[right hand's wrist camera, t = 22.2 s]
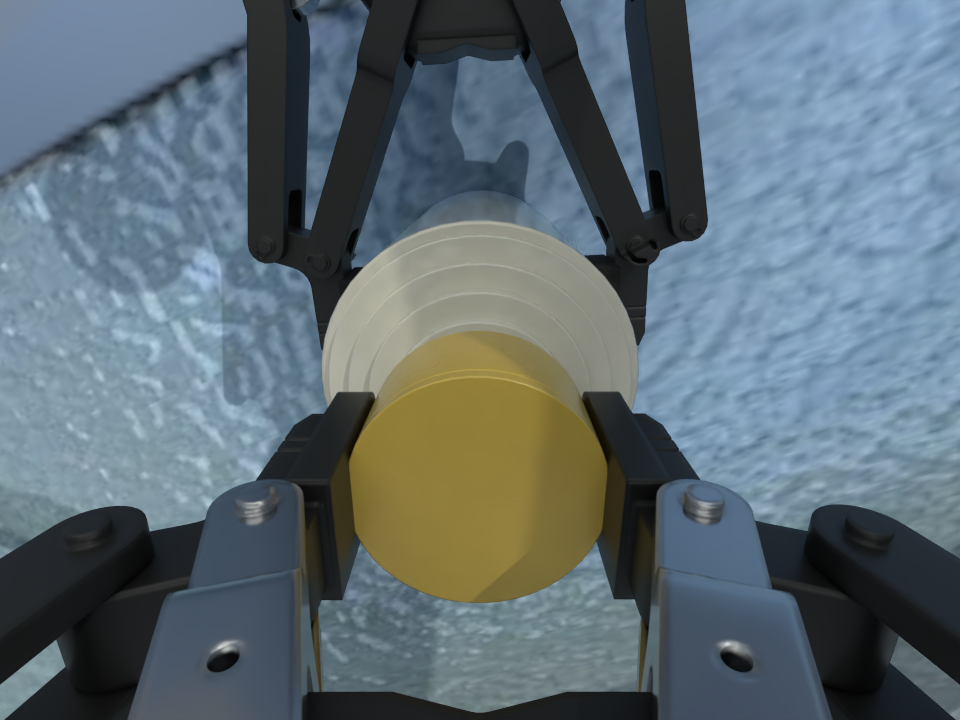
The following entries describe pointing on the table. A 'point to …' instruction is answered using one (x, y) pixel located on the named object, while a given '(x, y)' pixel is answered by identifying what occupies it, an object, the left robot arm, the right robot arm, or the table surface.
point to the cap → (478, 470)
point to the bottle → (480, 297)
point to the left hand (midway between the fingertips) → (487, 424)
